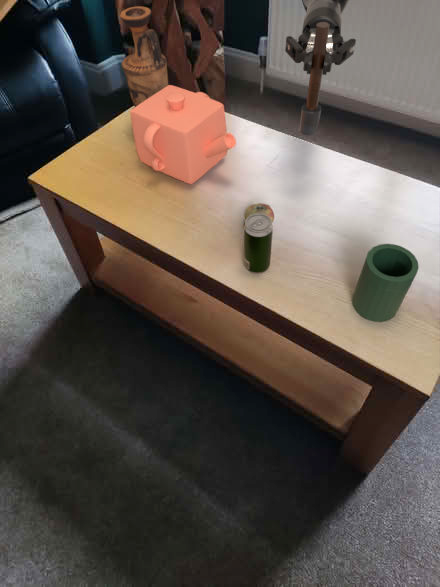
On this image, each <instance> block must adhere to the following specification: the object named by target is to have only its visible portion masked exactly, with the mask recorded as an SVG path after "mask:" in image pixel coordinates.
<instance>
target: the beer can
mask: <svg viewBox="0 0 440 587" xmlns="http://www.w3.org/2000/svg"><path fill="white" fill-rule="evenodd" d="M273 230H274V225H273V223H272V221H271V219H270V217H268V216H267V215H265V214H259V213H257V214H253V215H250V216H249V217H248V218H247V219H246V220H245V223H244V225H243V266H244V267H245V269H246V270H247V271H248V272H249V273H251V274H254V275H259V274H260V275H261V274H263V273H265V272H267V270H269V268H270V266H271V256H272V244H273V243H272V242H273Z"/></svg>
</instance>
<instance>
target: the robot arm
mask: <svg viewBox="0 0 440 587" xmlns="http://www.w3.org/2000/svg"><path fill="white" fill-rule="evenodd" d="M301 2H302V5H303V9H304V11H305V16H304V19H303V24H302V25H303V26H302V30H301V34H300V35H299V36H298V38H294V37H293V36H291V35H287V36H286V37H285V49H284V51H285V53H286V54H287V55H288V56H289V57H290V58H291V60H292V61H293V62H294V63H295V64H300V63H302V62H303V67H302V68H303V71H304V72H306V75H310V74H311V66H312V58H313V49H314V41H315V33H316V25H317V23H320V22H326V23H328V24H329V25H330V26H329V33H328V40H327V46H326V53H325V58H324V65H323V73H322V76H327V73H331V71H332V67H333V66H332V65H333V64H334V65H335V66H340V65H342V64H343V63H345V62H346V61H347V60H348V59H349V58H350V57H352V56H353V55H354V52H355V48H356V42H357V39H355V38H350V39H348V40H344V37H343V36H342V35H341V34H342V14H343V12H344V11H345V10H346V7H347V6H348V3H349V2H350V0H301Z"/></svg>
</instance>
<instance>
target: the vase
mask: <svg viewBox="0 0 440 587" xmlns="http://www.w3.org/2000/svg"><path fill="white" fill-rule="evenodd" d="M151 16H152V10H151V9H150V8H149V7H146V6H138V5H137V6H131V7H128V8H125V9H124V10H122V11H121V12H120V14H119V18H120V20H122V22H123V23H124V25H125V27H127V28H129V29H130V31H131V34H132V39H133V43H134V44H133V45H134V53H132V54H129V55H127V56H126V57H124V58H123V59H122V62H121V68H122V70H123V74H124V77H125V80H126V85H127V87H128V90H129V91H128V92H129V94H130V99H131V101H132V104H133V108H135V107H136V106H138V105H139V104H141V103H142V102H144V101H145V100H146V99H148V98H150V97H151V96H153V95H154V94H156V93H157V92H159V91H160V90H162V89H164V88H165V87H167V86H168V85H169V76H168V63H167V57H166V56H165V55H164V54H163V53H162V49H161V47H160V40H159V36H158V34H157V32H156V31H155V29H153V28H147V27H148V24H149V23H150V20H151Z"/></svg>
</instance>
